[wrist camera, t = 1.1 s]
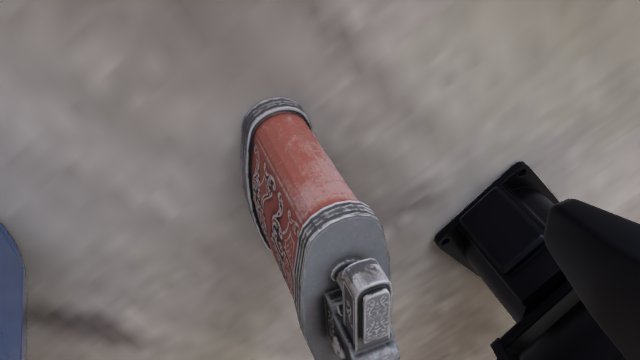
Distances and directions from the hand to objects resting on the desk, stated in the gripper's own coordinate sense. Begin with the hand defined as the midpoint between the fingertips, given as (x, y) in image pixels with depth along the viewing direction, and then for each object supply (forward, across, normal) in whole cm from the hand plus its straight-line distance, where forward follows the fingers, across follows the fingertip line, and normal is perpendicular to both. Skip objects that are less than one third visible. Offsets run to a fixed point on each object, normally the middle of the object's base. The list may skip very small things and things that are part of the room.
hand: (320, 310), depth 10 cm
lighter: (+14, -2, +8) cm, 16 cm away
